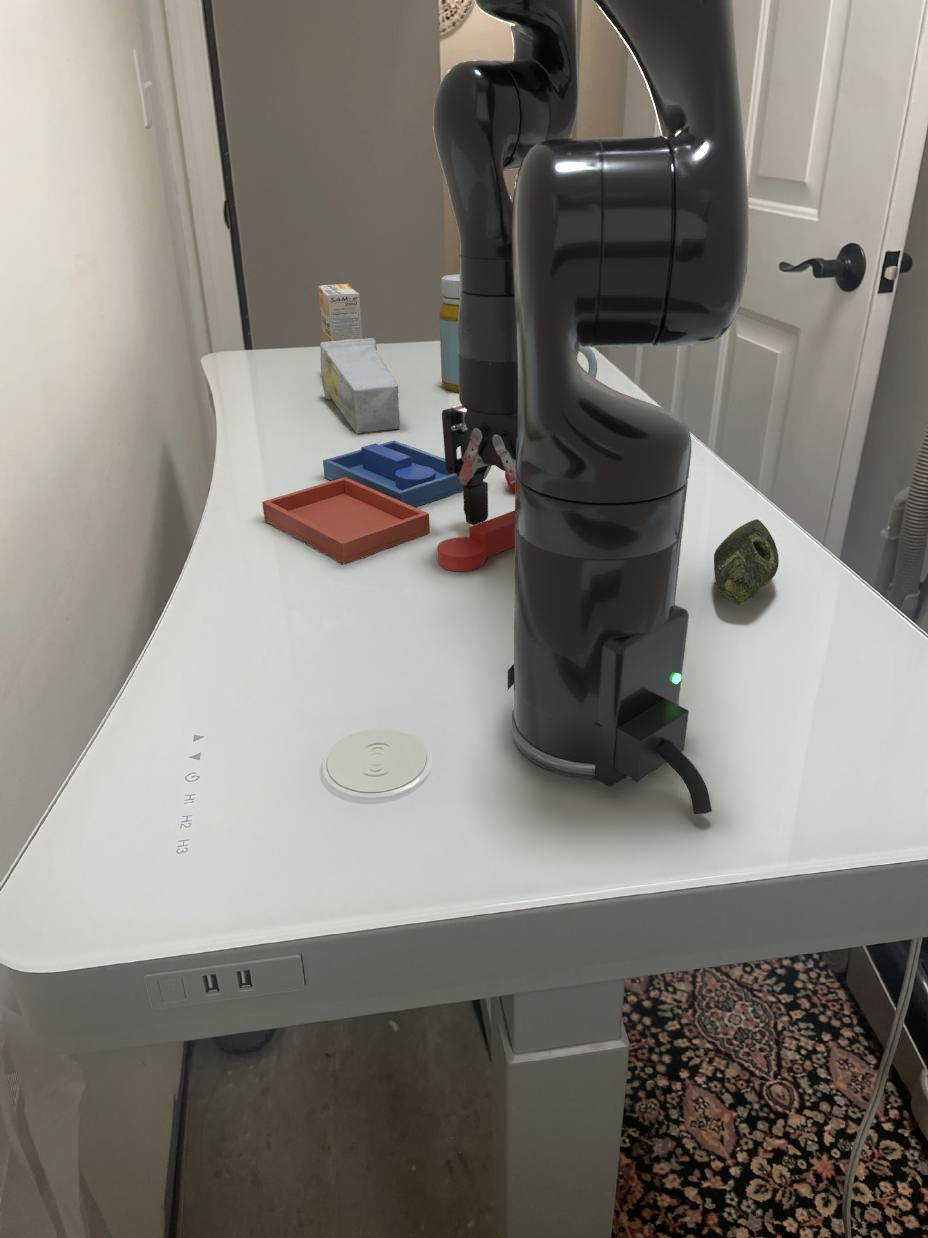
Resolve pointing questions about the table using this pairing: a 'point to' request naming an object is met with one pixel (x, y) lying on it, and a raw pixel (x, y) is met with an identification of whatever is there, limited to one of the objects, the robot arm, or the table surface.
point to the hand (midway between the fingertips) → (503, 532)
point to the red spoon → (478, 544)
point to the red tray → (346, 519)
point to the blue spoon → (395, 466)
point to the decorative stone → (745, 562)
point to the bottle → (450, 332)
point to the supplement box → (340, 312)
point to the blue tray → (413, 496)
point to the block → (360, 384)
